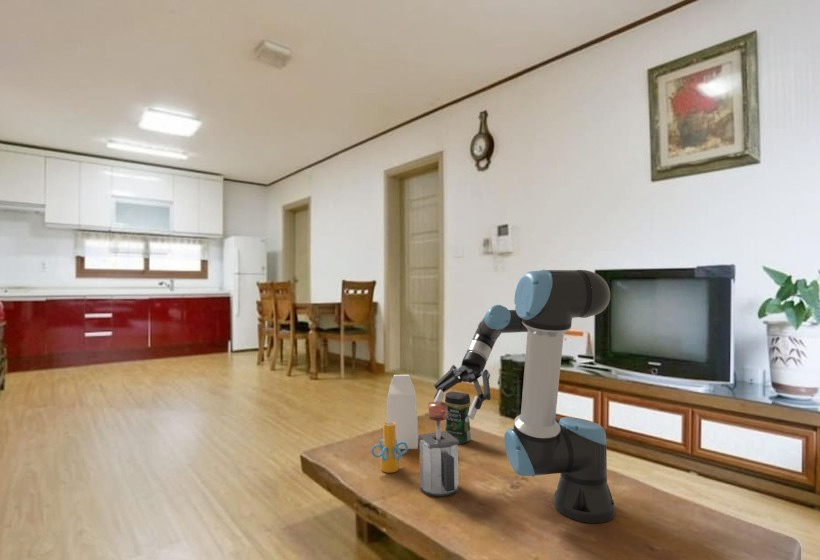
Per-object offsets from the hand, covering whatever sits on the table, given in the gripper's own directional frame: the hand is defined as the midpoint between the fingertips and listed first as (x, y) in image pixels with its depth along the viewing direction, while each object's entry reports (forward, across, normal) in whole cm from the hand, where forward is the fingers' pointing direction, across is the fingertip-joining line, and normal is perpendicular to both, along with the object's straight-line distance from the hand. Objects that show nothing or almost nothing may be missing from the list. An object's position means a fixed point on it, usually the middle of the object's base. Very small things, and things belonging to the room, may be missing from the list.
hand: (451, 413), depth 134 cm
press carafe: (+20, -1, -9) cm, 22 cm away
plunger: (+17, 0, -7) cm, 19 cm away
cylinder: (+19, +20, -10) cm, 30 cm away
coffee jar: (-6, +18, -36) cm, 40 cm away
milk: (+5, +33, -25) cm, 41 cm away
